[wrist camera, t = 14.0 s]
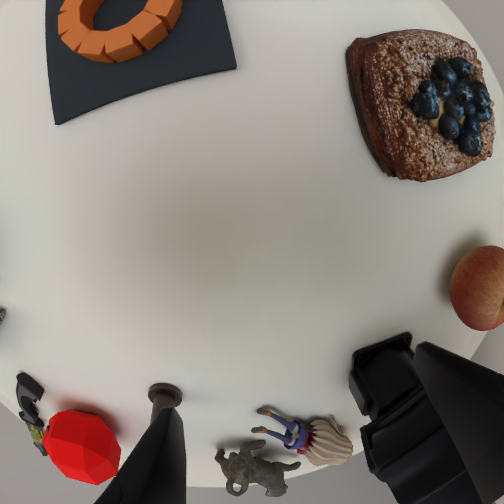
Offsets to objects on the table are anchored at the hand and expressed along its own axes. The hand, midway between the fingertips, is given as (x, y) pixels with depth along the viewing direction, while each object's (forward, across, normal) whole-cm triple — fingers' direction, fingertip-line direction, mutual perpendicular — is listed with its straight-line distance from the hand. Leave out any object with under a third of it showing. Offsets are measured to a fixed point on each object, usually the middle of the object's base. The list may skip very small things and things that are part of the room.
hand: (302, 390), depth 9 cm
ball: (+12, +23, +16) cm, 30 cm away
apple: (+12, -20, +6) cm, 24 cm away
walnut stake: (+12, +11, +12) cm, 20 cm away
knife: (+11, +31, +19) cm, 38 cm away
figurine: (+12, -2, +22) cm, 25 cm away
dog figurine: (+12, +5, +26) cm, 30 cm away
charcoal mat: (+11, +5, -18) cm, 22 cm away
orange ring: (+11, +5, -18) cm, 22 cm away
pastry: (+12, -14, -10) cm, 21 cm away
